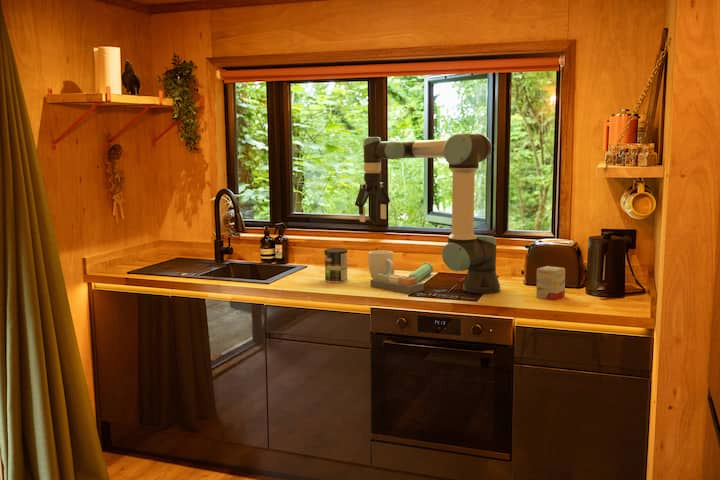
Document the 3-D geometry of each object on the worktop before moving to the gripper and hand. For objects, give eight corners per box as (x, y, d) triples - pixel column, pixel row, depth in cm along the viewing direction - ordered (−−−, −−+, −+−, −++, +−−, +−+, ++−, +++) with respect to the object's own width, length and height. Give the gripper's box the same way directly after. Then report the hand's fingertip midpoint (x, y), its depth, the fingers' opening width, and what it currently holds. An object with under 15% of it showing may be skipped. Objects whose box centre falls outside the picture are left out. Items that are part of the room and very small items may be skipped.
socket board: (423, 290, 301) (423, 283, 300) (409, 294, 295) (409, 286, 294) (384, 283, 316) (384, 276, 316) (370, 286, 310) (370, 279, 309)
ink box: (565, 296, 286) (566, 267, 284) (555, 300, 279) (556, 270, 278) (545, 293, 291) (546, 264, 290) (535, 297, 285) (536, 268, 283)
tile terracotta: (416, 285, 301) (416, 277, 300) (409, 287, 297) (409, 279, 296) (407, 284, 304) (407, 276, 303) (400, 286, 300) (399, 277, 300)
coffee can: (330, 284, 317) (330, 252, 315) (321, 280, 326) (320, 249, 324) (351, 281, 322) (351, 250, 320) (341, 277, 331) (341, 247, 329)
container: (414, 271, 312) (430, 260, 334) (402, 275, 314) (419, 264, 337) (420, 284, 312) (435, 272, 335) (408, 288, 314) (423, 276, 337)
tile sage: (393, 281, 310) (393, 273, 309) (385, 283, 306) (385, 275, 305) (384, 280, 313) (384, 272, 312) (377, 282, 309) (377, 274, 309)
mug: (403, 282, 317) (403, 253, 315) (383, 285, 311) (382, 255, 309) (384, 277, 329) (383, 249, 327) (364, 280, 323) (363, 251, 321)
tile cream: (405, 283, 305) (404, 275, 305) (397, 285, 301) (397, 277, 301) (396, 282, 308) (396, 274, 308) (388, 284, 305) (388, 275, 304)
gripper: (385, 170, 328) (385, 216, 331) (346, 173, 310) (347, 222, 313) (397, 171, 323) (398, 218, 326) (358, 174, 305) (359, 223, 308)
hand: (373, 220), depth 320 cm, fingers open, 13 cm apart
